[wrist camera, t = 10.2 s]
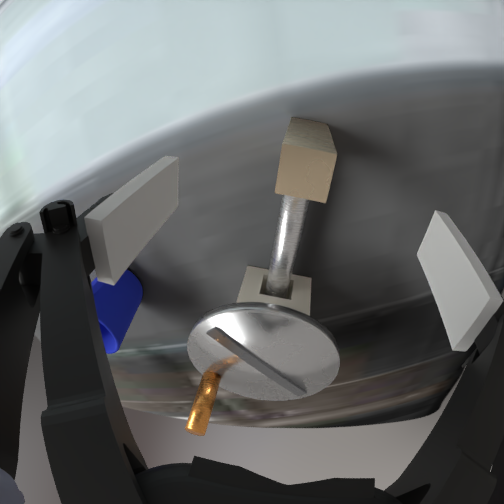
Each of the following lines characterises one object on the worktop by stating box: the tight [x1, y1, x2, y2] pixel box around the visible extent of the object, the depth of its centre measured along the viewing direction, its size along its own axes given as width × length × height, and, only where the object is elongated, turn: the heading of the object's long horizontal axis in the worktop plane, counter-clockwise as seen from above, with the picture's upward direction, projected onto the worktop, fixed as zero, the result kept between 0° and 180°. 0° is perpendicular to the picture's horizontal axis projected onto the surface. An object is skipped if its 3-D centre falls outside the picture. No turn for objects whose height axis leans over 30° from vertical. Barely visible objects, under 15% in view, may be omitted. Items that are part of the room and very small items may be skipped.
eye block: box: [236, 266, 311, 316], centre depth 33 cm, size 7×7×9 cm
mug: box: [91, 269, 143, 354], centre depth 35 cm, size 8×12×10 cm
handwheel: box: [185, 302, 340, 436], centre depth 26 cm, size 15×15×8 cm
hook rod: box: [264, 117, 337, 299], centre depth 28 cm, size 25×3×10 cm, turn 174°
